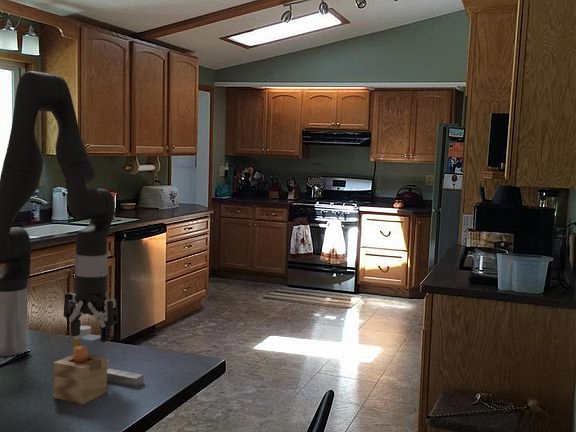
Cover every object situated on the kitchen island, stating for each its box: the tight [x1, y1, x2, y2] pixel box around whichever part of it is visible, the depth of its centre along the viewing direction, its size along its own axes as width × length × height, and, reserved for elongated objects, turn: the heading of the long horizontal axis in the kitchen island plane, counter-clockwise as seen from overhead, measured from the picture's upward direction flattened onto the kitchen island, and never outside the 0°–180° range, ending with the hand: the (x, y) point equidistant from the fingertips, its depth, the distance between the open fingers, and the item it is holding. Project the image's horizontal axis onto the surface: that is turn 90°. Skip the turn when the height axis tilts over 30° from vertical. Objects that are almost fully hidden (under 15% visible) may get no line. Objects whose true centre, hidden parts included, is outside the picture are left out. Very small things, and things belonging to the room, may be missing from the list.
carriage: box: [79, 333, 110, 368], centre depth 158 cm, size 6×6×9 cm
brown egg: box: [74, 346, 88, 363], centre depth 145 cm, size 3×3×3 cm
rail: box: [107, 367, 145, 388], centre depth 156 cm, size 18×3×2 cm, turn 68°
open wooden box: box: [53, 354, 108, 405], centre depth 145 cm, size 8×8×8 cm
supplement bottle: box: [72, 325, 92, 355], centre depth 170 cm, size 5×5×8 cm
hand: (90, 338), depth 157 cm, fingers open, 8 cm apart
